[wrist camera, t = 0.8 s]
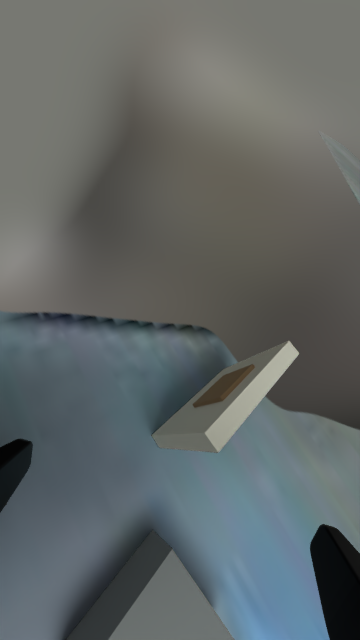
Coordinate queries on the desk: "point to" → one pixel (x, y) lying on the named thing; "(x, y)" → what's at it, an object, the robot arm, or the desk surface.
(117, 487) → the desk surface
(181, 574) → the base block
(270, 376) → the plaque
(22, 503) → the desk surface
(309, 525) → the desk surface
